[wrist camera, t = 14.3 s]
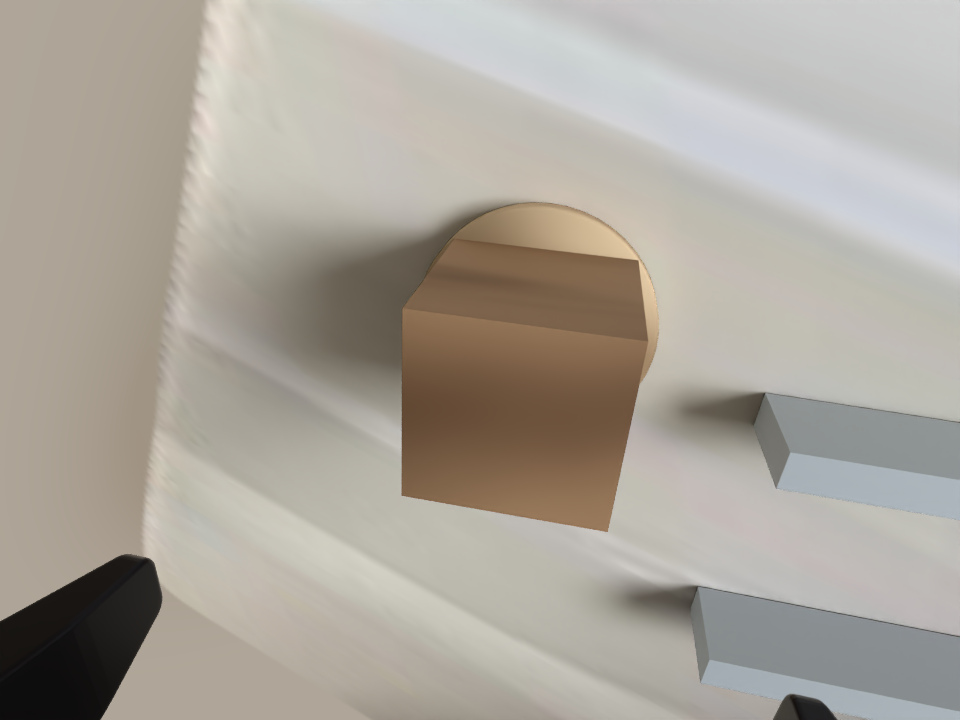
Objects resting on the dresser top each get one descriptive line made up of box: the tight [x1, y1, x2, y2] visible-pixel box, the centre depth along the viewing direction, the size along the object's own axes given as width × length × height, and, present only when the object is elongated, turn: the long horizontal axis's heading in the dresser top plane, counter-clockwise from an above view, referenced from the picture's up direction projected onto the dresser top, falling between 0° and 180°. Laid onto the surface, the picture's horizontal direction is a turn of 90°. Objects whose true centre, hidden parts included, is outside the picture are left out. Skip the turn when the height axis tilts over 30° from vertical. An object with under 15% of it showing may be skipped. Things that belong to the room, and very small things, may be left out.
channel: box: [690, 393, 960, 720], centre depth 19 cm, size 9×12×3 cm
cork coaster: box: [424, 203, 659, 384], centre depth 18 cm, size 7×7×1 cm
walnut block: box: [402, 239, 648, 532], centre depth 16 cm, size 5×5×5 cm
